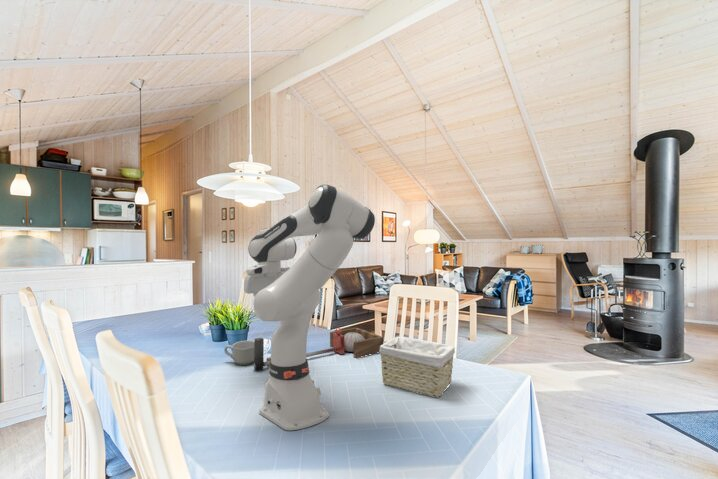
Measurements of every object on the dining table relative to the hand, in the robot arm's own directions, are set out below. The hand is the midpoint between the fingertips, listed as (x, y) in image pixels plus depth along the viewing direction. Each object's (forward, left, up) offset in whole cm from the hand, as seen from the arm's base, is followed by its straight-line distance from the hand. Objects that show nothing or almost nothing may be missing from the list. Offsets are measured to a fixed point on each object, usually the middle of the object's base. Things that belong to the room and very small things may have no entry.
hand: (270, 302), depth 141 cm
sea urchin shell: (+3, -43, -28) cm, 51 cm away
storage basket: (-45, -38, -28) cm, 65 cm away
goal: (+3, -44, -27) cm, 52 cm away
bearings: (+3, -8, -27) cm, 29 cm away
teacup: (+16, +7, -28) cm, 32 cm away
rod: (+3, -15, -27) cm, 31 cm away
